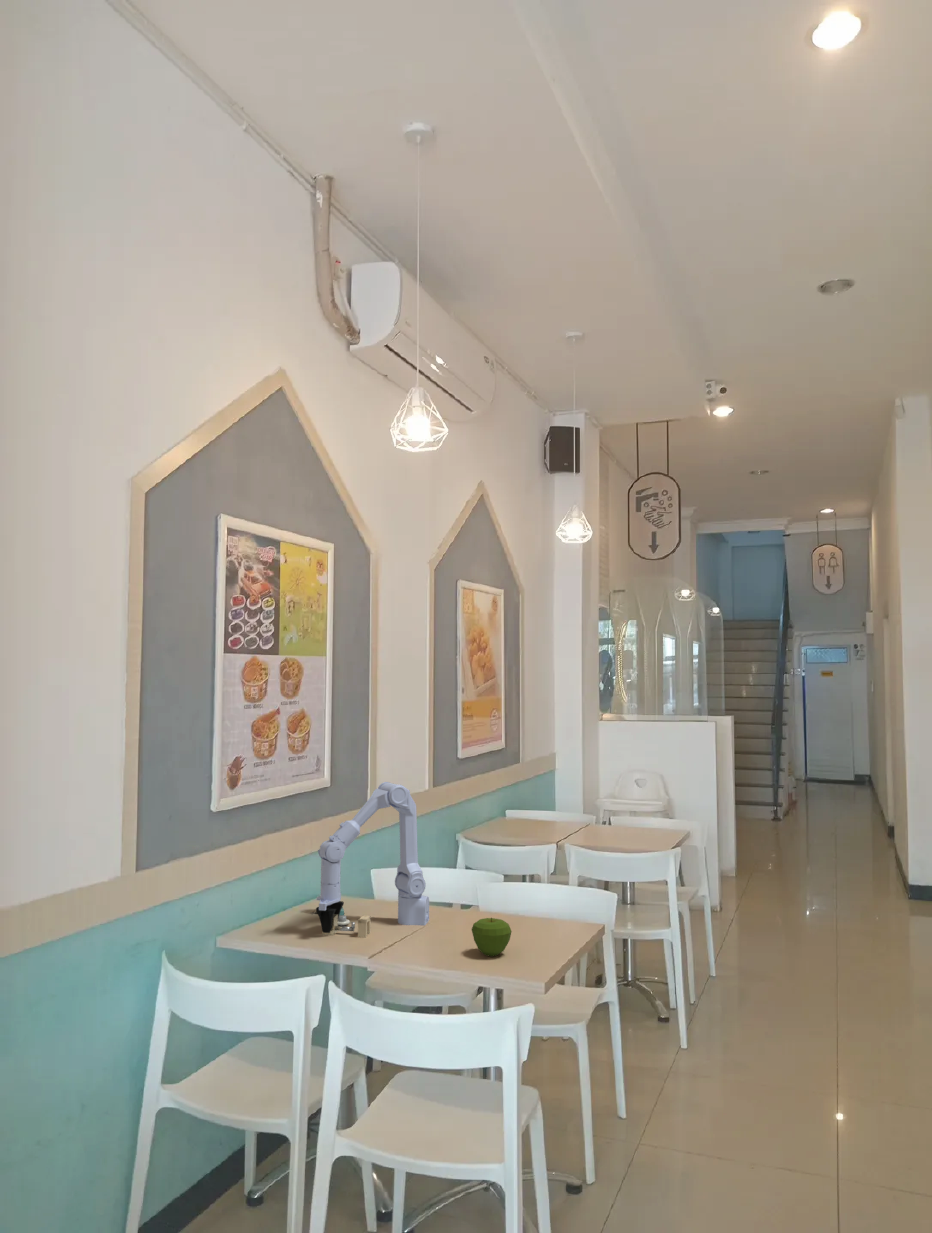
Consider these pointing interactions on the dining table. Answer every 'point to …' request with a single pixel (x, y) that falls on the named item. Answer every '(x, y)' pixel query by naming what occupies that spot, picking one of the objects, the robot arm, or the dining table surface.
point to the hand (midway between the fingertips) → (329, 929)
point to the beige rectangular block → (336, 928)
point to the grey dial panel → (363, 926)
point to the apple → (491, 935)
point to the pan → (342, 918)
